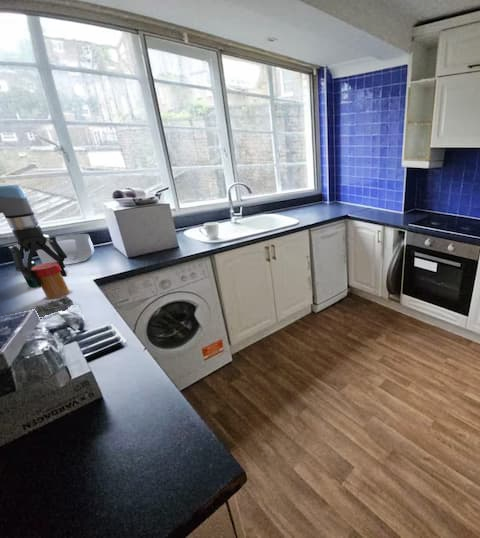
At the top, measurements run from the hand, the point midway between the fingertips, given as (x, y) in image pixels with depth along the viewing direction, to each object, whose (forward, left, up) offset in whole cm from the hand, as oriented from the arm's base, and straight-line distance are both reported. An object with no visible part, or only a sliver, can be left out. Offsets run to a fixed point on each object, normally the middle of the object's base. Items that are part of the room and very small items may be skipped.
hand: (51, 280), depth 121 cm
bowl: (+1, +55, -7) cm, 55 cm away
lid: (0, 0, +6) cm, 6 cm away
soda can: (-9, +19, -7) cm, 22 cm away
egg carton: (+1, -18, -7) cm, 19 cm away
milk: (-4, +32, -7) cm, 33 cm away
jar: (0, 0, -7) cm, 7 cm away
